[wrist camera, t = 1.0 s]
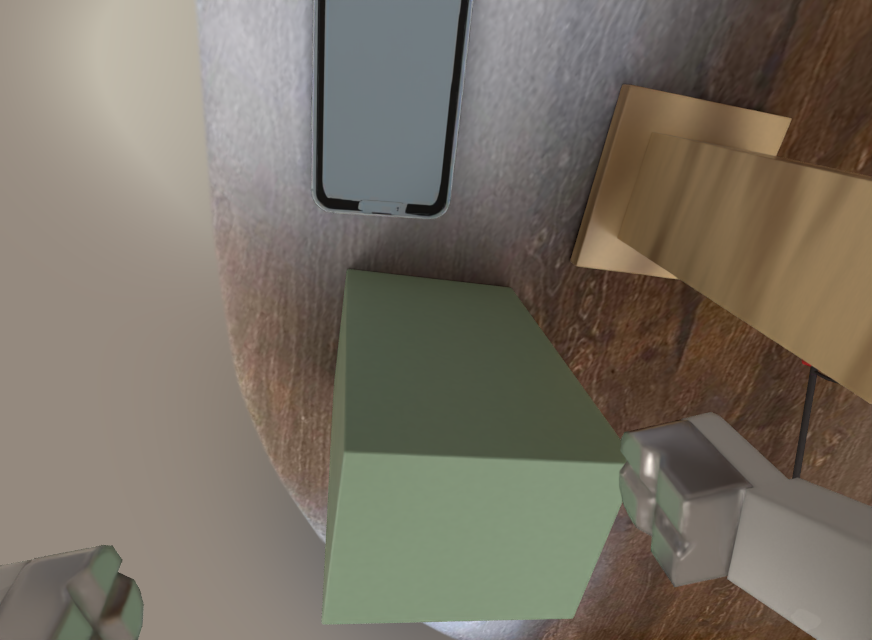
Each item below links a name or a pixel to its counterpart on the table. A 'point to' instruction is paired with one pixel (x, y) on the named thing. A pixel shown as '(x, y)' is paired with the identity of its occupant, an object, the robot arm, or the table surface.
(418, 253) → the table surface
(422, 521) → the sage green upright box
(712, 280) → the wooden pedestal column
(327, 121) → the smartphone
